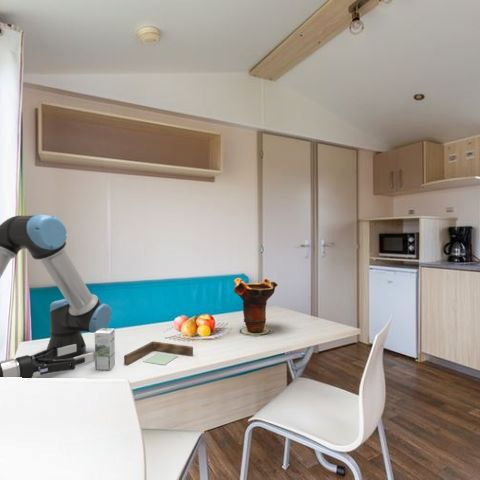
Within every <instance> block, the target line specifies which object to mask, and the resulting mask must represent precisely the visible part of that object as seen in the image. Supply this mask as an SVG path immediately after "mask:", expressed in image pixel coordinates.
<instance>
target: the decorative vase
mask: <svg viewBox="0 0 480 480" xmlns="http://www.w3.org/2000/svg"><path fill="white" fill-rule="evenodd" d="M233 282H234V284H235V286H234V289H233V290H234V291H233V293H234V294H236V295H237V296H238V297H239V298H240V299H241V300H242V311H243V323H244V325H245V326H242V327H240V328H239V329H237V332H238V333H239V334H240V335H243V336H248V337H260V336H261V335H267V334H271V333H272V332H273V330H272V329H271V328H270V327H267V318H266V311H267V310H266V307H267V301H268V300H269V299H270V298H271V297H272V296H273V295H274V293H275V290H276V287H278V284H277V282H275V281H270V279H269V278H264V279H263V281H261V282H259V283H256V282H255V283H245V281H242V278H240V277H237V278H235V279H234V280H233ZM265 325H266V326H265Z"/></svg>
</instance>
